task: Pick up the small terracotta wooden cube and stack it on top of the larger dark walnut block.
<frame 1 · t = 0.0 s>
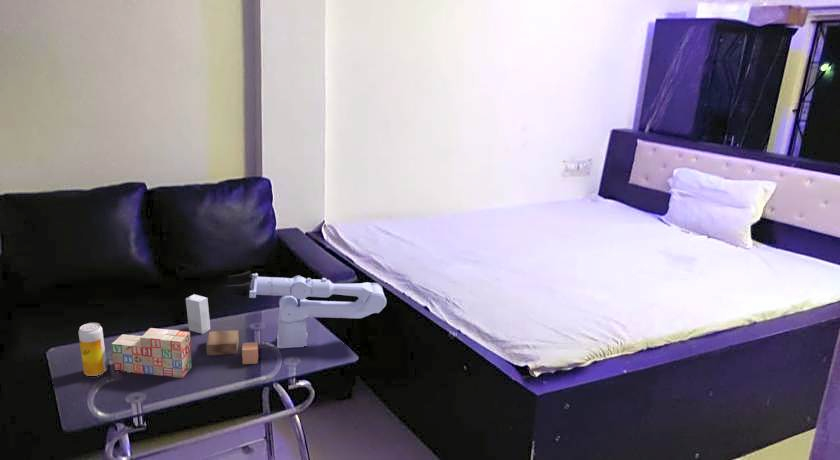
hand: (226, 284, 192), 22 cm above the table, tool horizontal, fingers open, 7 cm apart
terracotta cube: (250, 360, 191), on the table
walnut block: (223, 348, 198), on the table
stack of blocks: (153, 370, 184), on the table
skincare box: (199, 330, 208), on the table
beer can: (96, 373, 180), on the table
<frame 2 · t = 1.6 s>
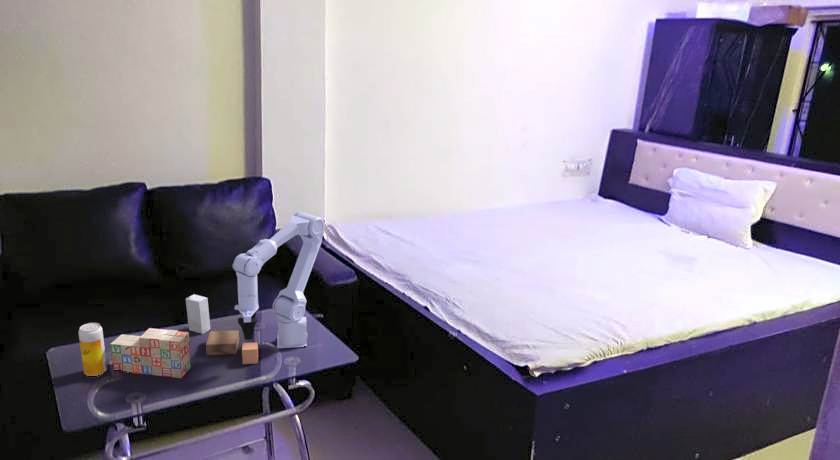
hand: (249, 333, 188), 9 cm above the table, tool pointing down, fingers open, 7 cm apart
nothing on the table moved.
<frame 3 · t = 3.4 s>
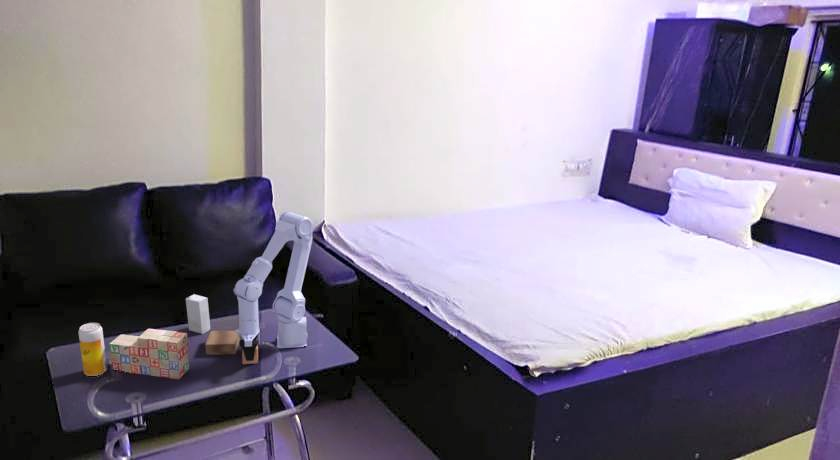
hand: (250, 356, 191), 1 cm above the table, tool pointing down, fingers closed on terracotta cube, 4 cm apart
terracotta cube: (250, 360, 191), on the table, touching gripper
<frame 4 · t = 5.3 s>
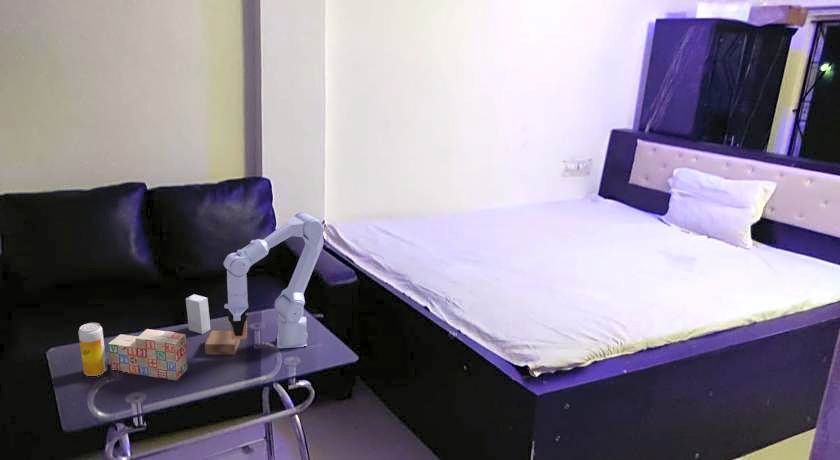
hand: (239, 331, 191), 8 cm above the table, tool pointing down, fingers closed on terracotta cube, 4 cm apart
terracotta cube: (239, 335, 191), point 7 cm above the table, touching gripper
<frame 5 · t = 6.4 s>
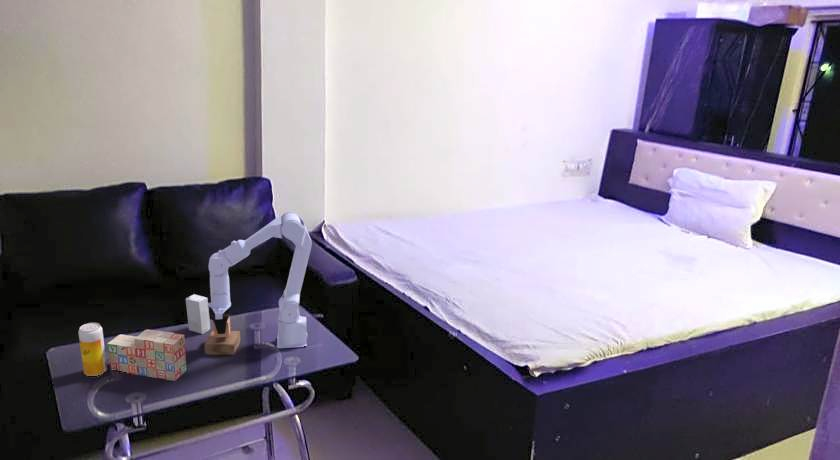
hand: (222, 329, 196), 6 cm above the table, tool pointing down, fingers closed on terracotta cube, 4 cm apart
terracotta cube: (222, 333, 196), point 5 cm above the table, touching gripper
when the fingers open (6 cm above the table, at t = 7.1 s): terracotta cube drops 1 cm, point 4 cm above the table.
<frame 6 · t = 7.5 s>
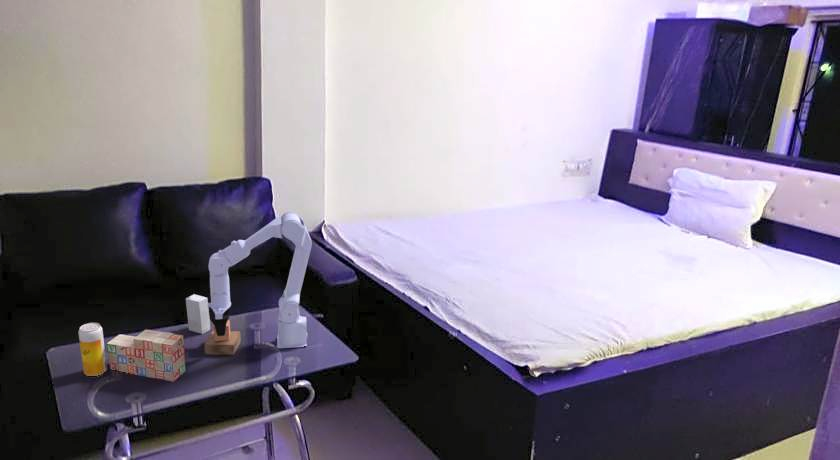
hand: (222, 329, 196), 6 cm above the table, tool pointing down, fingers open, 7 cm apart
terracotta cube: (222, 337, 197), point 4 cm above the table
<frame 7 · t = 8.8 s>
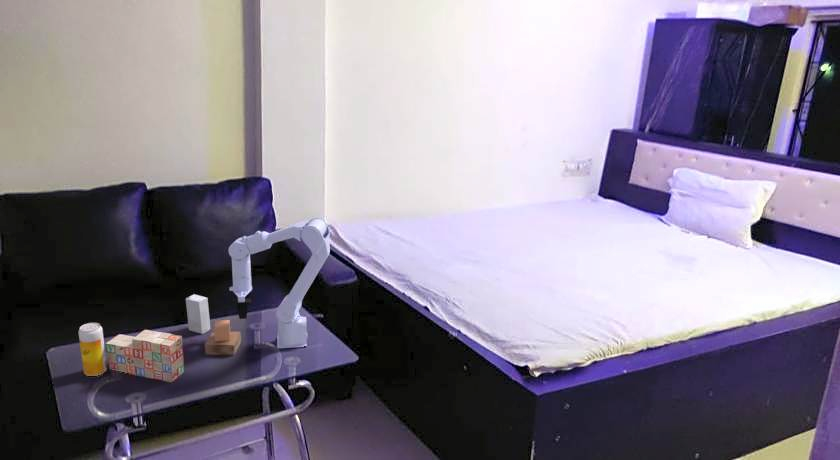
hand: (243, 313, 201), 9 cm above the table, tool pointing down, fingers open, 7 cm apart
terracotta cube: (222, 337, 197), point 4 cm above the table, touching walnut block
walnut block: (223, 348, 198), on the table, touching terracotta cube
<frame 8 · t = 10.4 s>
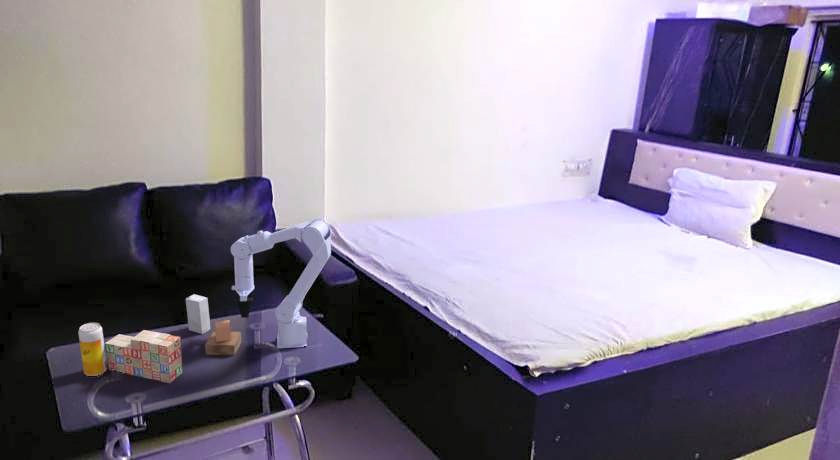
hand: (245, 312, 202), 9 cm above the table, tool pointing down, fingers open, 7 cm apart
at the end: terracotta cube 0.0 cm off-centre on the walnut block, point 4.0 cm above the walnut block's base; terracotta cube tilted 1°; the gripper is holding nothing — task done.
